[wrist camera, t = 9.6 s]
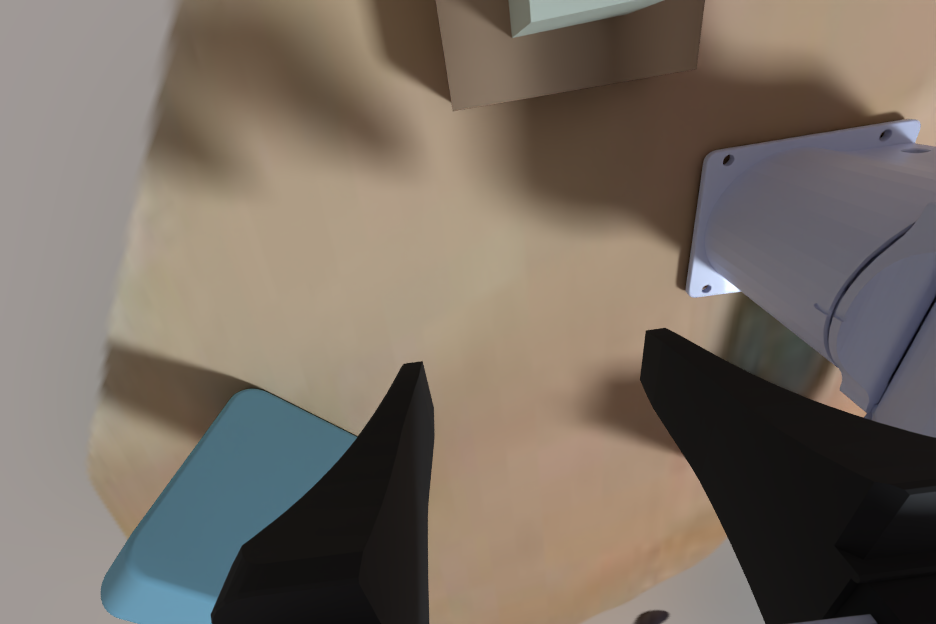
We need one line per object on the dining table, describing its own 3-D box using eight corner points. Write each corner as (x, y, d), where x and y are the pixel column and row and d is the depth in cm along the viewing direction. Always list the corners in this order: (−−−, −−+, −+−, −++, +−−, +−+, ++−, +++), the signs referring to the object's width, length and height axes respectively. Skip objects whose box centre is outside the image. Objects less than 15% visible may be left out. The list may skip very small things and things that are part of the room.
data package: (219, 416, 28) (79, 610, 18) (244, 378, 27) (104, 570, 16) (363, 482, 32) (315, 672, 22) (394, 453, 30) (357, 646, 20)
